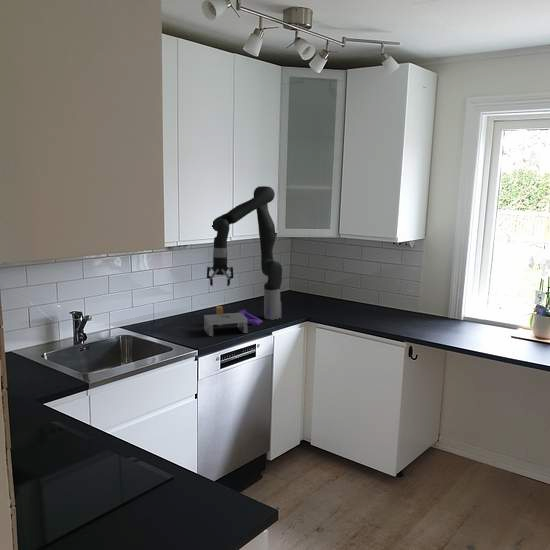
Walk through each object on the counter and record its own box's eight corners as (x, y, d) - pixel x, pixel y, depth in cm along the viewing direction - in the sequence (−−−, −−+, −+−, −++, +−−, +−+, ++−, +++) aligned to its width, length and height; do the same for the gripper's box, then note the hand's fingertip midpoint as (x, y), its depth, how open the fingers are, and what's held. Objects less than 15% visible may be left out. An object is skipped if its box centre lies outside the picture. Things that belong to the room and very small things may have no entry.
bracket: (237, 324, 306) (237, 312, 305) (242, 321, 313) (242, 309, 312) (258, 326, 302) (258, 314, 301) (262, 323, 309) (262, 311, 308)
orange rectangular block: (221, 323, 307) (221, 306, 305) (223, 325, 303) (223, 307, 301) (216, 324, 306) (215, 306, 304) (217, 326, 302) (217, 308, 300)
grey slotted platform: (241, 326, 300) (240, 312, 298) (247, 333, 286) (247, 318, 285) (204, 329, 294) (204, 315, 292) (209, 336, 281) (209, 321, 279)
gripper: (233, 255, 300) (233, 285, 302) (206, 255, 299) (206, 284, 301) (233, 257, 293) (233, 287, 295) (206, 256, 291) (206, 287, 294)
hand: (219, 286), depth 298 cm, fingers open, 8 cm apart
